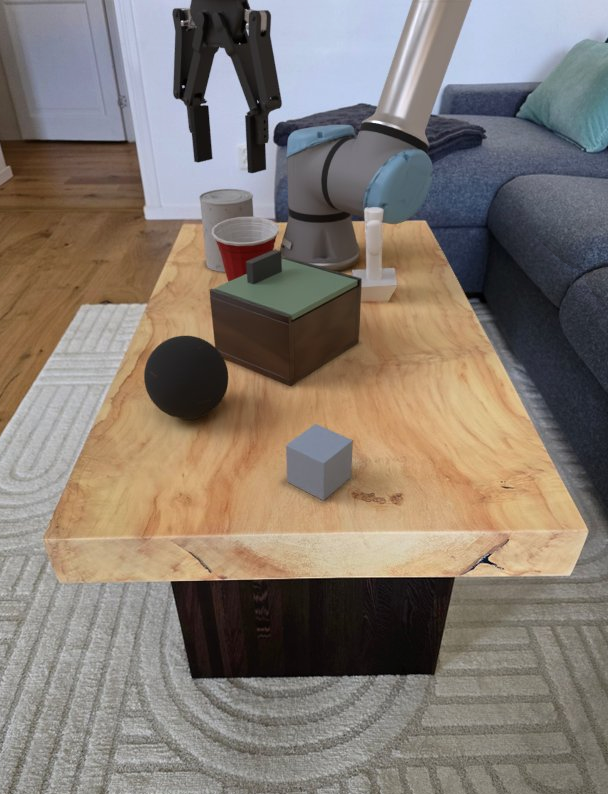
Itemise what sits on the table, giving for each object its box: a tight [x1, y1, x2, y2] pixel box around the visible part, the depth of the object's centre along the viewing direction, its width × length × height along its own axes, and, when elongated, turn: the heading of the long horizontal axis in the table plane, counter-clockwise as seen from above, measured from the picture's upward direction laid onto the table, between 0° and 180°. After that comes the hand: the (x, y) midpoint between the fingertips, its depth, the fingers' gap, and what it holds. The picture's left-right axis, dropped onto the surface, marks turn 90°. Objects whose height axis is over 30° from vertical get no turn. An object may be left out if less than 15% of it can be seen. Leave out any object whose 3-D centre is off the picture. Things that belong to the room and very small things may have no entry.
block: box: [285, 423, 354, 501], centre depth 67 cm, size 5×5×5 cm
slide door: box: [214, 249, 358, 320], centre depth 86 cm, size 14×14×4 cm
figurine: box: [351, 207, 398, 302], centre depth 104 cm, size 7×9×15 cm
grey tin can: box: [199, 188, 254, 273], centre depth 117 cm, size 10×10×12 cm
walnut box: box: [209, 257, 362, 387], centre depth 90 cm, size 16×14×10 cm
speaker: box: [143, 335, 229, 420], centre depth 77 cm, size 10×10×10 cm
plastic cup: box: [212, 216, 280, 282], centre depth 104 cm, size 11×11×12 cm
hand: (229, 165), depth 84 cm, fingers open, 9 cm apart
